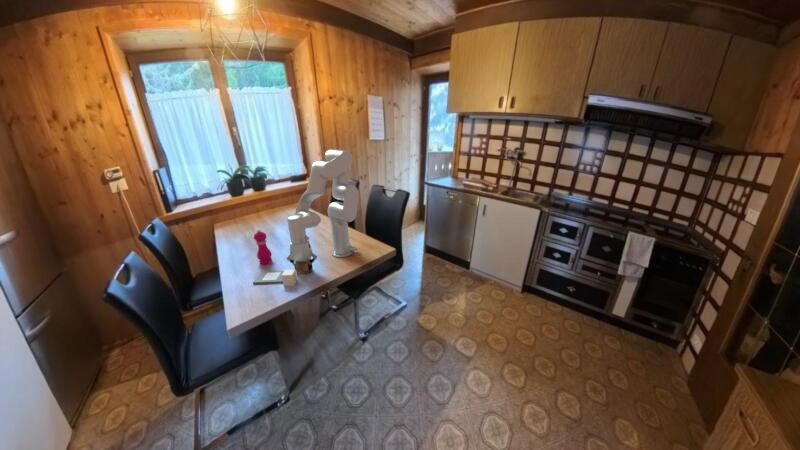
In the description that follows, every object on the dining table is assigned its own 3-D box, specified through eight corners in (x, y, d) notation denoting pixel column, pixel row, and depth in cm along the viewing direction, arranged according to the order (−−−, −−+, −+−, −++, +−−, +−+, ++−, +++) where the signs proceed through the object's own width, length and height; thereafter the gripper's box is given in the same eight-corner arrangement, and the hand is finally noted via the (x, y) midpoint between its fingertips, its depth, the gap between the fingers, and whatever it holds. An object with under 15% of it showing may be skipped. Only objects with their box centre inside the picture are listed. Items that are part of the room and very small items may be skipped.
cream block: (297, 279, 132) (295, 269, 130) (294, 285, 128) (291, 274, 126) (287, 280, 132) (285, 269, 130) (283, 285, 128) (281, 275, 125)
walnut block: (311, 268, 142) (310, 258, 140) (308, 274, 137) (306, 264, 135) (300, 268, 142) (298, 259, 140) (296, 274, 137) (295, 264, 134)
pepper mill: (258, 266, 145) (250, 233, 138) (259, 260, 151) (251, 228, 144) (272, 263, 148) (265, 230, 140) (273, 258, 154) (266, 226, 147)
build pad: (289, 272, 139) (288, 270, 139) (282, 282, 130) (281, 281, 129) (262, 273, 139) (261, 271, 138) (253, 284, 129) (252, 282, 129)
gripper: (317, 235, 136) (322, 266, 143) (284, 236, 136) (290, 267, 142) (314, 242, 129) (319, 273, 136) (278, 243, 129) (285, 274, 135)
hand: (304, 270), depth 139 cm, fingers closed on walnut block, 6 cm apart
